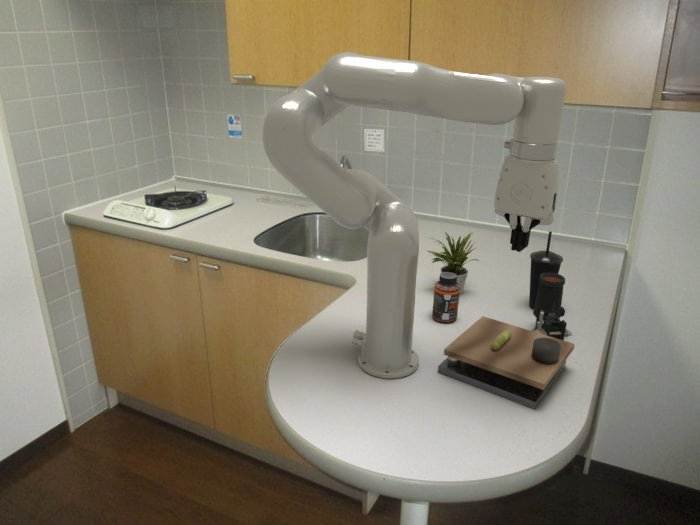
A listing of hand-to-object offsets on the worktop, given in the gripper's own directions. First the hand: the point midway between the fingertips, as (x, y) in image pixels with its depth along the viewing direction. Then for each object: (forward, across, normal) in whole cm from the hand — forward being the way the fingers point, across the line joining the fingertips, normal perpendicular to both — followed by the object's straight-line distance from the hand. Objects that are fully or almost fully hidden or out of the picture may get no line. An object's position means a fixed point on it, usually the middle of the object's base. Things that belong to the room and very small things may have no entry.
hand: (518, 249), depth 107 cm
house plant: (+27, -26, +29) cm, 47 cm away
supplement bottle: (+27, -20, +13) cm, 36 cm away
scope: (+26, +2, +20) cm, 33 cm away
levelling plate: (+22, +1, 0) cm, 22 cm away
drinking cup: (+26, -4, +33) cm, 43 cm away
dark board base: (+26, 0, 0) cm, 26 cm away
